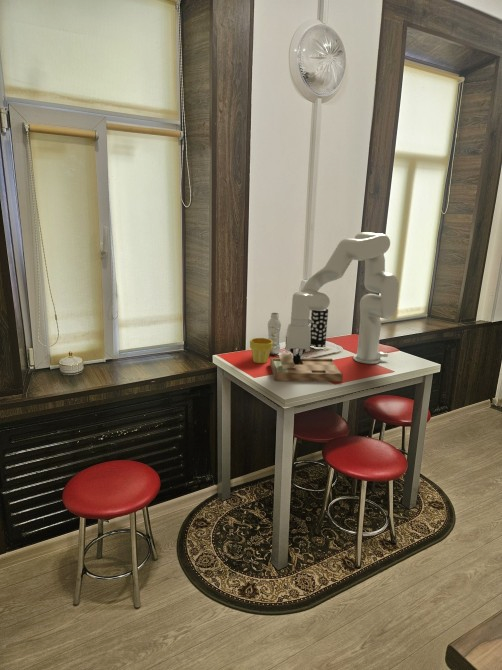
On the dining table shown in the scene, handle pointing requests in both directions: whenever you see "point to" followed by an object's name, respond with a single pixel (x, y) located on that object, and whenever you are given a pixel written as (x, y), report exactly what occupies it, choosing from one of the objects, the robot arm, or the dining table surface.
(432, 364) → the dining table surface
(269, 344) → the plant pot
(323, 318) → the spotted tube
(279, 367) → the box
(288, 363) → the block
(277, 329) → the plastic bottle
